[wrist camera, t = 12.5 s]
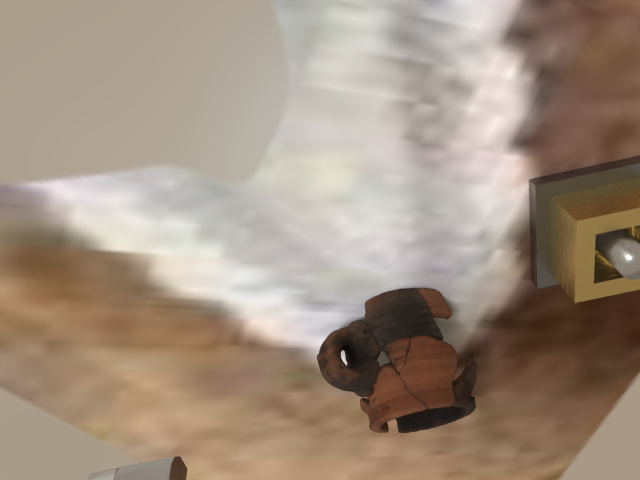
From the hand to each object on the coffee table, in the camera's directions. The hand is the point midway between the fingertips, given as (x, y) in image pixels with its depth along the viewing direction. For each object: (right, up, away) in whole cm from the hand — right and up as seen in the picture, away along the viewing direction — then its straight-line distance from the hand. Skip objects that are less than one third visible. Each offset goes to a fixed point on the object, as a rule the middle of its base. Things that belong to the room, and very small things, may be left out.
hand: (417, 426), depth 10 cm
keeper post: (+17, +5, +30) cm, 34 cm away
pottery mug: (+3, -4, +34) cm, 34 cm away
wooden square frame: (+17, +4, +29) cm, 34 cm away
